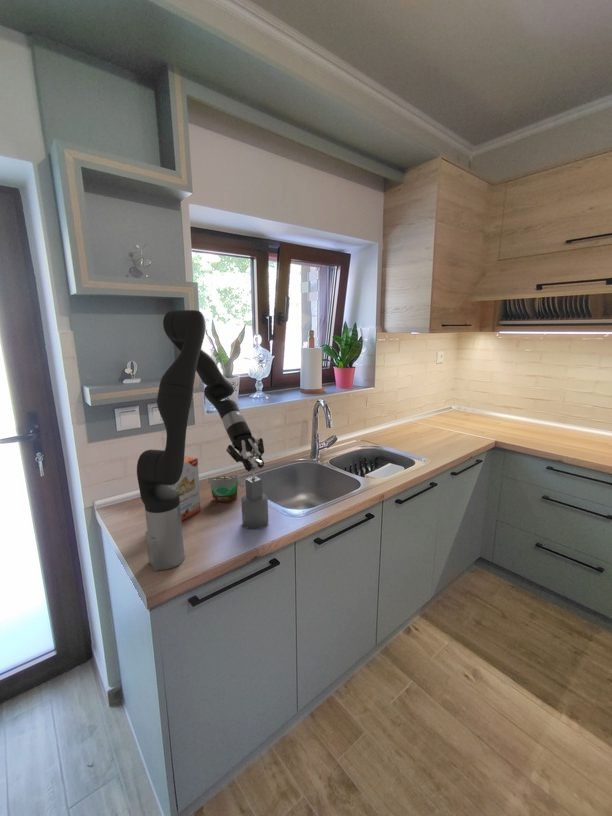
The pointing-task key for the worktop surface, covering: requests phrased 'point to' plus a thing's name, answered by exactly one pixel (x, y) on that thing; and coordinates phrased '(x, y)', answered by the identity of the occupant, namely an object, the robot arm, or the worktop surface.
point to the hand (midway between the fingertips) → (256, 468)
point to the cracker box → (188, 488)
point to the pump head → (254, 463)
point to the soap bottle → (254, 505)
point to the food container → (224, 488)
